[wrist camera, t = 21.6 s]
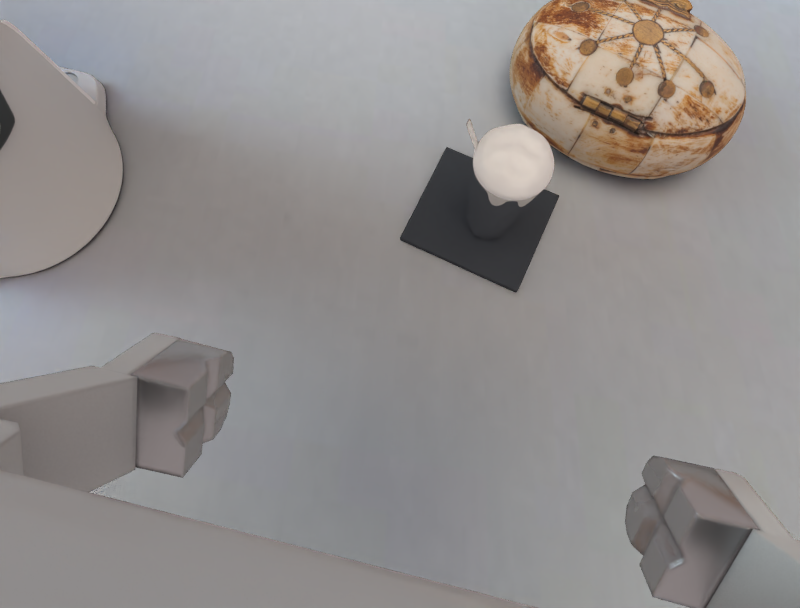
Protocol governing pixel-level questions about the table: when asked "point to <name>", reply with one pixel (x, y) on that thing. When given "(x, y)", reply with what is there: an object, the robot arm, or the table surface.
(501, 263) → the mat
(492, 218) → the milkshake
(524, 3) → the table surface
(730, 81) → the trinket box
